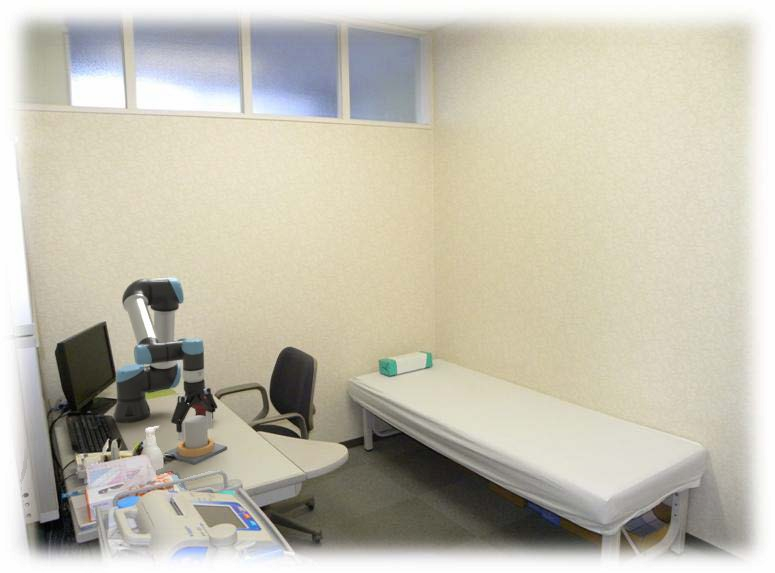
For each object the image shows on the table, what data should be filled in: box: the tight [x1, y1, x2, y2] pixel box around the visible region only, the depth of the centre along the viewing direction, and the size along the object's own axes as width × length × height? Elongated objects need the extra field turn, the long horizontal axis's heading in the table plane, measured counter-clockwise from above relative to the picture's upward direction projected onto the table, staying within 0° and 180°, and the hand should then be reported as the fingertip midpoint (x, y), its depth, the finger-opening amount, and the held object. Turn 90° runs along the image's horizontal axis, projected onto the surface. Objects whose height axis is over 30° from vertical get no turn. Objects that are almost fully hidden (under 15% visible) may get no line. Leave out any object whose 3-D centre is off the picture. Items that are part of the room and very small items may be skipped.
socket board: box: [164, 436, 228, 465], centre depth 208 cm, size 16×16×4 cm
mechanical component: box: [191, 393, 214, 416], centre depth 242 cm, size 12×10×10 cm
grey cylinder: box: [184, 415, 209, 449], centre depth 208 cm, size 8×8×12 cm
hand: (195, 433), depth 208 cm, fingers open, 13 cm apart
